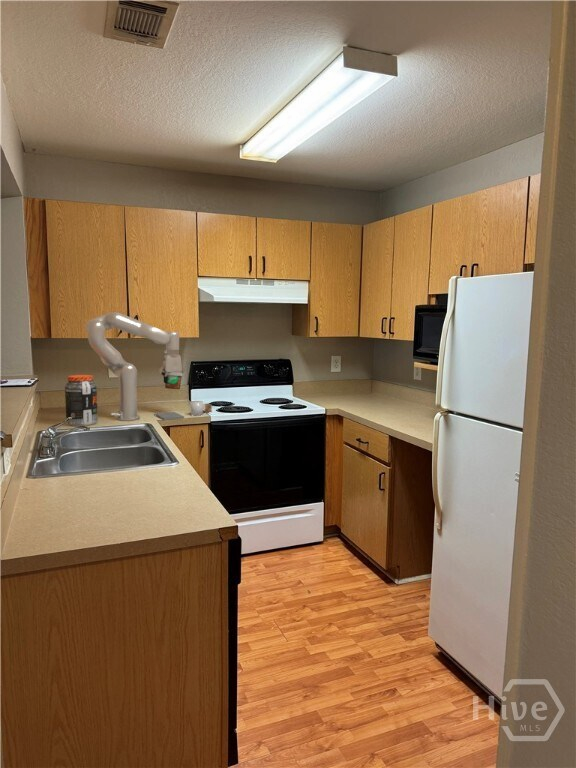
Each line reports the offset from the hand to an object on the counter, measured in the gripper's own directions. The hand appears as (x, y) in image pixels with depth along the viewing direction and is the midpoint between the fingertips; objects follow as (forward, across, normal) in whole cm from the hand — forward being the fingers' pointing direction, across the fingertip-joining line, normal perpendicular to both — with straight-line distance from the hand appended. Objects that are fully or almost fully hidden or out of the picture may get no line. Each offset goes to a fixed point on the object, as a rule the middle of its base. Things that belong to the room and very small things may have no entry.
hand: (171, 382), depth 301 cm
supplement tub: (+21, -50, +1) cm, 54 cm away
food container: (+3, -1, 0) cm, 4 cm away
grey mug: (+19, +13, -8) cm, 24 cm away
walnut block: (+18, +21, -4) cm, 28 cm away
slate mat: (+19, -3, -5) cm, 20 cm away
